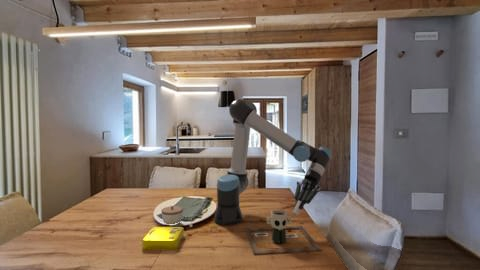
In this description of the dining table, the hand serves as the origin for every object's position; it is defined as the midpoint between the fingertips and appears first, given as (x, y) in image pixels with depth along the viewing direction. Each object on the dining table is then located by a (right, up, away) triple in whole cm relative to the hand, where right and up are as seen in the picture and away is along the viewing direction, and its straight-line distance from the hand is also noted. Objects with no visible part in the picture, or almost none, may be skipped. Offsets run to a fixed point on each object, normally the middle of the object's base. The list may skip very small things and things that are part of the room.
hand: (294, 214), depth 130 cm
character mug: (-8, -10, -7) cm, 15 cm away
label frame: (-8, -10, -5) cm, 14 cm away
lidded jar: (-61, -9, +14) cm, 63 cm away
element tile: (-59, -11, -7) cm, 61 cm away
